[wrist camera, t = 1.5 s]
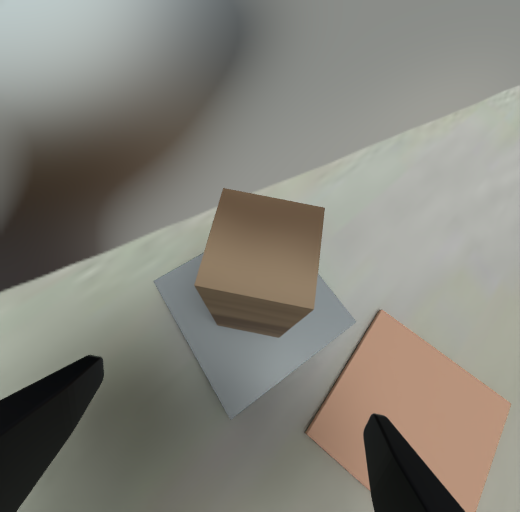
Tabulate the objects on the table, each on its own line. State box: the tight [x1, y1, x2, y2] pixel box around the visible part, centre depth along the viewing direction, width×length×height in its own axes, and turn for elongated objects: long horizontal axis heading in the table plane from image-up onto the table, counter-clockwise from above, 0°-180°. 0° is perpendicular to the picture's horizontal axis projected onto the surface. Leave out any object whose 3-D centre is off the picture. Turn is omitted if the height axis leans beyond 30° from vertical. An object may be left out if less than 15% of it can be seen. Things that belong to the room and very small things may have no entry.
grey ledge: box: [154, 253, 356, 420], centre depth 21 cm, size 11×11×2 cm
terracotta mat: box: [305, 310, 511, 512], centre depth 19 cm, size 11×11×1 cm
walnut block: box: [194, 188, 325, 338], centre depth 15 cm, size 4×4×10 cm
